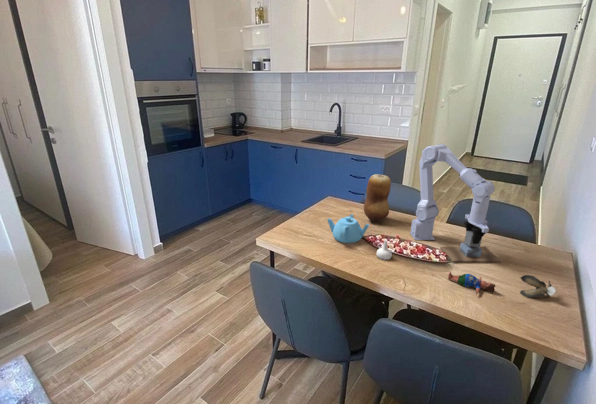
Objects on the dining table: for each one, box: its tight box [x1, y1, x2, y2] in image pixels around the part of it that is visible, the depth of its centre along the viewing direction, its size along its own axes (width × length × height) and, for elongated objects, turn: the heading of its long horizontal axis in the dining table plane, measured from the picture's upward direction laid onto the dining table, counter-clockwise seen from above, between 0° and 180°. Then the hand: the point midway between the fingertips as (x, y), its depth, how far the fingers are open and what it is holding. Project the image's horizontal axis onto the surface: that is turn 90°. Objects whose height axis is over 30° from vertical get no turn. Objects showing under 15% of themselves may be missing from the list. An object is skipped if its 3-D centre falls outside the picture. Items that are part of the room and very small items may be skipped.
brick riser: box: [439, 242, 503, 264], centre depth 135 cm, size 20×12×4 cm, turn 90°
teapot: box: [327, 214, 370, 244], centre depth 150 cm, size 15×15×11 cm
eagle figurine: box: [519, 274, 557, 298], centre depth 109 cm, size 8×7×9 cm
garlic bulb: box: [375, 239, 393, 261], centre depth 133 cm, size 6×6×8 cm
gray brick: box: [463, 230, 483, 247], centre depth 133 cm, size 4×4×5 cm
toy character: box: [447, 271, 496, 296], centre depth 115 cm, size 12×5×15 cm
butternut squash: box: [363, 173, 392, 222], centre depth 167 cm, size 14×13×25 cm
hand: (472, 240), depth 133 cm, fingers closed on gray brick, 4 cm apart
